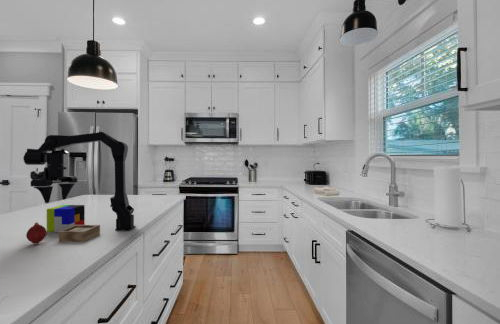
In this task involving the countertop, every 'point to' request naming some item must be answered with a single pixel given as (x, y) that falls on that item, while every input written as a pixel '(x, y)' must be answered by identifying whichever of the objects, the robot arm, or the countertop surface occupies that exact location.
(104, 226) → the countertop surface
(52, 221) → the puzzle toy
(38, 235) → the onion
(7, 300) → the countertop surface
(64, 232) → the wooden tray
